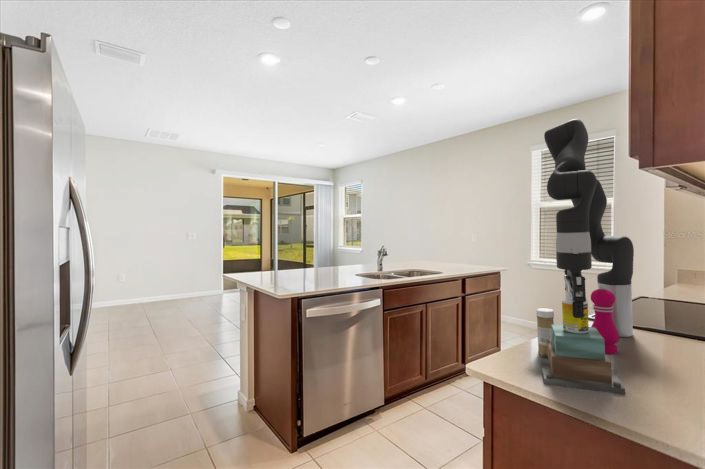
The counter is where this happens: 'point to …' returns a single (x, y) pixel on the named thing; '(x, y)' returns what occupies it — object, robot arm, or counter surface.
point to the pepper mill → (605, 317)
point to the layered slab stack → (579, 361)
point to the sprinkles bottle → (544, 328)
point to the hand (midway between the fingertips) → (575, 313)
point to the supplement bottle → (569, 321)
